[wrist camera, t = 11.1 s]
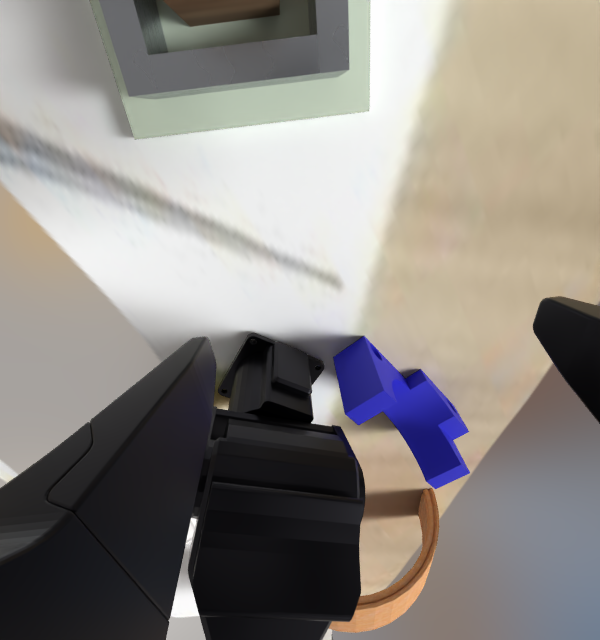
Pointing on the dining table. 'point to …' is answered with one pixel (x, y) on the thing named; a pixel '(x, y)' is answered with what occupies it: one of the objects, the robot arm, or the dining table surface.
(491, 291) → the dining table surface
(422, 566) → the arch
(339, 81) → the base plate
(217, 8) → the walnut post
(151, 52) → the steel collar
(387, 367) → the cable clip
